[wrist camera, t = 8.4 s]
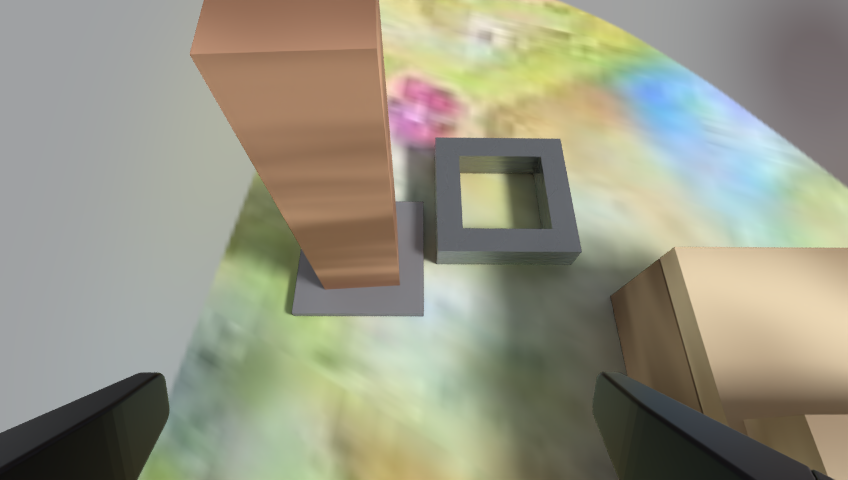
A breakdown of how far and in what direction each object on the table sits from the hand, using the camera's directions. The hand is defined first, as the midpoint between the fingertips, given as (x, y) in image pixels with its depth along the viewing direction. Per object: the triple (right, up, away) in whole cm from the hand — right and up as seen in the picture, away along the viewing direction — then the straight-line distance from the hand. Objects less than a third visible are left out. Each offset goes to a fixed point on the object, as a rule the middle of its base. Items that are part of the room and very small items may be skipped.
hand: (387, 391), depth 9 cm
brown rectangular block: (-2, +2, +12) cm, 12 cm away
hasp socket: (+5, +5, +13) cm, 15 cm away
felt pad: (-2, +2, +12) cm, 12 cm away
